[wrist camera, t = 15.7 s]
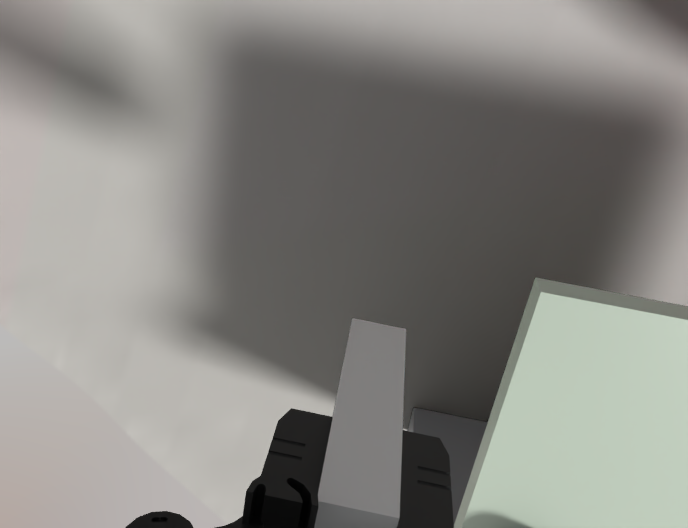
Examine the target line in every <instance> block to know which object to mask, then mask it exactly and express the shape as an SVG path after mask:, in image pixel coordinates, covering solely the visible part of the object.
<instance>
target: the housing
mask: <svg viewBox="0 0 688 528" xmlns="http://www.w3.org/2000/svg"><path fill="white" fill-rule="evenodd" d="M487 423H488V422H484V421H479V420H474V419H469V418H464V417H459V416H454V415H449V414H444V413H439V412H434V411H429V410H423V409H418V408H413V412H412V416H411V420H410V424H409V427H408V431H409V432H414V433H419V434H424V435H428V436H433V437H438V438H440V440H441V441H442V443H443V445H444V447H445V448H446V450H447V452H448V454H449V459H450V476H451V491H452V506H453V522H454V524H455V521H456V518H457V514H458V511H459V508H460V505H461V502H462V499H463V496H464V493H465V490H466V487H467V484H468V481H469V478H470V475H471V472H472V469H473V466H474V463H475V460H476V457H477V454H478V451H479V447H480V444H481V441H482V438H483V435H484V432H485V429H486V426H487Z"/></svg>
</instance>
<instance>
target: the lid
mask: <svg viewBox="0 0 688 528" xmlns="http://www.w3.org/2000/svg"><path fill="white" fill-rule="evenodd" d="M454 528H688V306H683V305H678V304H672V303H667V302H662V301H657V300H651V299H646V298H641V297H636V296H630V295H625V294H620V293H615V292H609V291H604V290H599V289H594V288H588V287H583V286H578V285H573V284H567V283H562V282H557V281H551V280H546V279H541V278H536V277H535V280H534V283H533V286H532V289H531V292H530V295H529V298H528V301H527V304H526V307H525V310H524V313H523V317H522V320H521V323H520V326H519V329H518V332H517V335H516V338H515V341H514V344H513V347H512V350H511V353H510V356H509V359H508V362H507V365H506V368H505V371H504V374H503V377H502V380H501V384H500V387H499V390H498V393H497V396H496V399H495V402H494V405H493V408H492V411H491V414H490V417H489V420H488V423H487V426H486V429H485V432H484V435H483V438H482V441H481V444H480V447H479V451H478V454H477V457H476V460H475V463H474V466H473V469H472V472H471V475H470V478H469V481H468V484H467V487H466V490H465V493H464V496H463V499H462V502H461V505H460V508H459V511H458V514H457V518H456V521H455V524H454Z"/></svg>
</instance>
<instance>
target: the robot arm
mask: <svg viewBox="0 0 688 528" xmlns="http://www.w3.org/2000/svg"><path fill="white" fill-rule="evenodd" d="M405 350H406V329H404V328H399V327H394V326H389V325H385V324H380V323H375V322H370V321H365V320H360V319H355V318H352V322H351V327H350V332H349V337H348V342H347V347H346V352H345V356H344V361H343V366H342V371H341V376H340V381H339V386H338V391H337V396H336V401H335V406H334V411H333V416H332V417H330V416H325V415H320V414H315V413H311V412H306V411H301V410H296V409H290V410H289V411H288V412H287V413H286V414H285V415H284V416H283V417H282V418H281V419H280V420H279V421H278V423H277V426H276V430H275V433H274V436H273V440H272V442H271V445H270V449H269V453H268V455H267V458H266V461H265V464H264V468H263V471H262V474H261V476H260V477H258V478H257V479H255V480H254V481H252V483H251V484H250V486H249V488H248V489H247V491H246V497H245V505H244V512H243V516H242V517H241V518H239V519H238V520H236V521H235V522H233V523H230V524H228V525H225V526H222V527H216V528H454V522H453V506H452V491H451V476H450V459H449V454H448V452H447V450H446V448H445V447H444V445H443V443H442V441H441V440H440V438H438V437H433V436H428V435H424V434H419V433H414V432H409V431H404V430H403V406H404V378H405ZM126 528H193V526H192V524H191V523H190V521H188V520H187V519H185V518H184V517H182V516H181V515H180V514H176V513H172V512H167V511H162V512H151V513H148V514H146V515H143V516H140V517H138V518H137V519H135V520H134V521H133V522H132V523H131V524H129V525H128V526H127V527H126Z"/></svg>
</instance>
